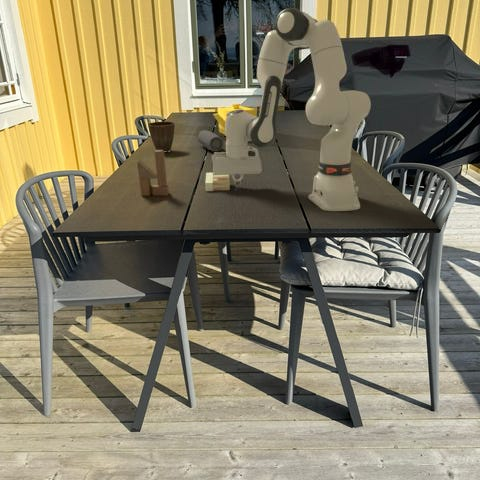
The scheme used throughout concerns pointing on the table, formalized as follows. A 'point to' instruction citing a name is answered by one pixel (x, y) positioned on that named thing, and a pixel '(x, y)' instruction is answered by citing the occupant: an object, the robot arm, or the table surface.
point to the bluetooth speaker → (210, 140)
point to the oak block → (221, 182)
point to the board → (209, 182)
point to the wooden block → (153, 177)
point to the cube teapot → (224, 111)
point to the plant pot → (162, 134)
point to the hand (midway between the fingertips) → (237, 184)
